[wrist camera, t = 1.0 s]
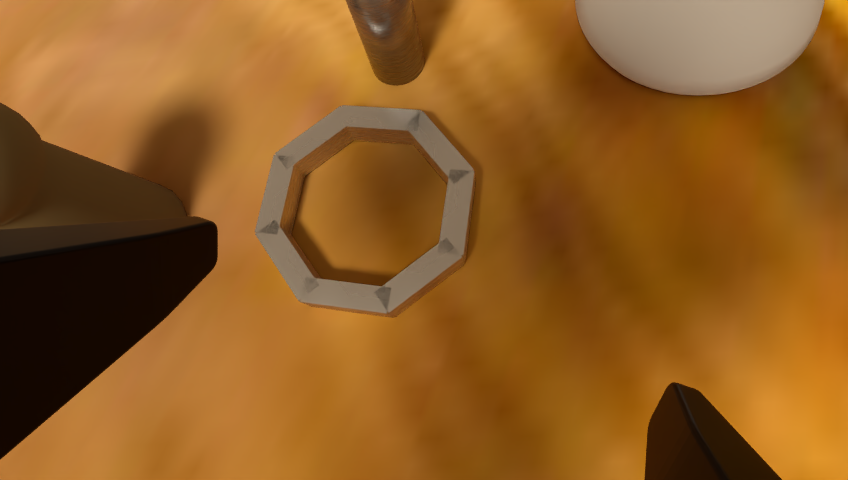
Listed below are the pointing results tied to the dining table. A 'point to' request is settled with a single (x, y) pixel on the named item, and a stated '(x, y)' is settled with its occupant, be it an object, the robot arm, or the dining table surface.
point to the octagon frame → (395, 65)
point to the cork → (68, 184)
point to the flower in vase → (699, 40)
